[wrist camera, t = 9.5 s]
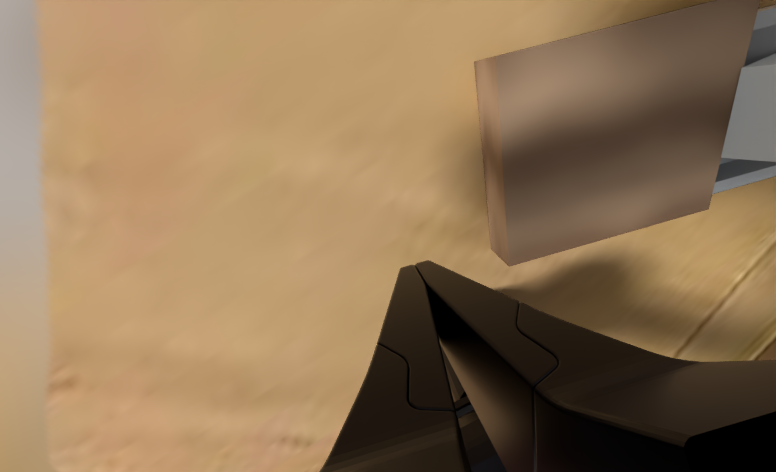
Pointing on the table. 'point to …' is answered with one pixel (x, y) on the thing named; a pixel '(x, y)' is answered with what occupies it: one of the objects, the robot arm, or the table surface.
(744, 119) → the white block
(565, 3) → the table surface
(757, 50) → the tray
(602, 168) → the walnut board
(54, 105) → the table surface
